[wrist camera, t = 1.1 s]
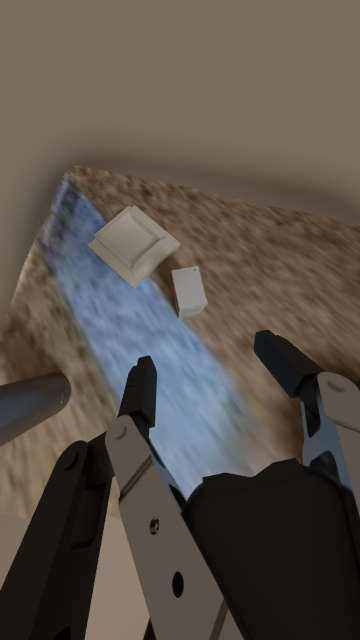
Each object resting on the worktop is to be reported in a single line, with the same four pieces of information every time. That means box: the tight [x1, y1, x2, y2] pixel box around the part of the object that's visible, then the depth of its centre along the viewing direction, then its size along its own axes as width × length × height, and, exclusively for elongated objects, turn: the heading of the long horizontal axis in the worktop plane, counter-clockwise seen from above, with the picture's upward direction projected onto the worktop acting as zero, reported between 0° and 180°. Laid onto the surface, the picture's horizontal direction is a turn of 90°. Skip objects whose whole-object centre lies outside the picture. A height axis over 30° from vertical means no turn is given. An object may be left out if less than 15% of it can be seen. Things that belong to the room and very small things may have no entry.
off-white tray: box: [87, 205, 180, 289], centre depth 36 cm, size 18×18×4 cm
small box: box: [171, 266, 208, 318], centre depth 30 cm, size 8×6×10 cm
